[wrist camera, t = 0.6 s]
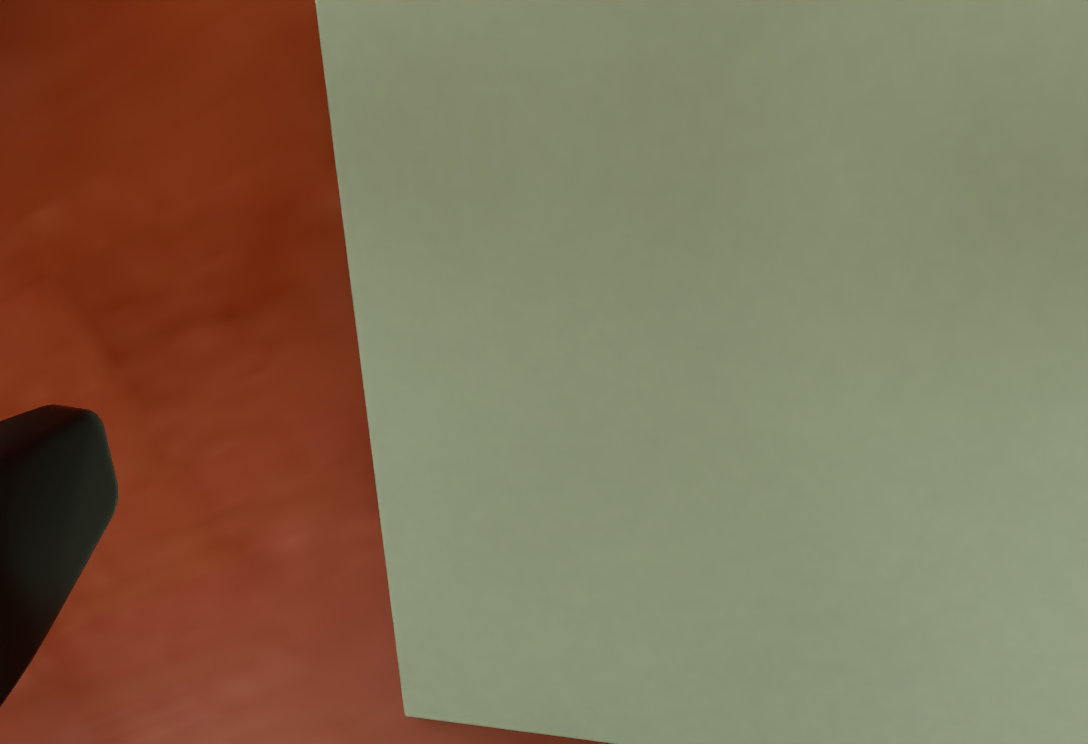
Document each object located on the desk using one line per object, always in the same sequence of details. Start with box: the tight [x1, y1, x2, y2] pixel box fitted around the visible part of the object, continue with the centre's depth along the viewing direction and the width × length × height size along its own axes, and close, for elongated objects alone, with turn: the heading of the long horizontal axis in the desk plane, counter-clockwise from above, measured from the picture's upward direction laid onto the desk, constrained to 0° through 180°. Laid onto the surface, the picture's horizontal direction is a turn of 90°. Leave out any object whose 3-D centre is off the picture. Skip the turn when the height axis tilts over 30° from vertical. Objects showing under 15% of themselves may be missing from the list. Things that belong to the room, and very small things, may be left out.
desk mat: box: [315, 0, 1088, 744], centre depth 23 cm, size 20×18×1 cm
